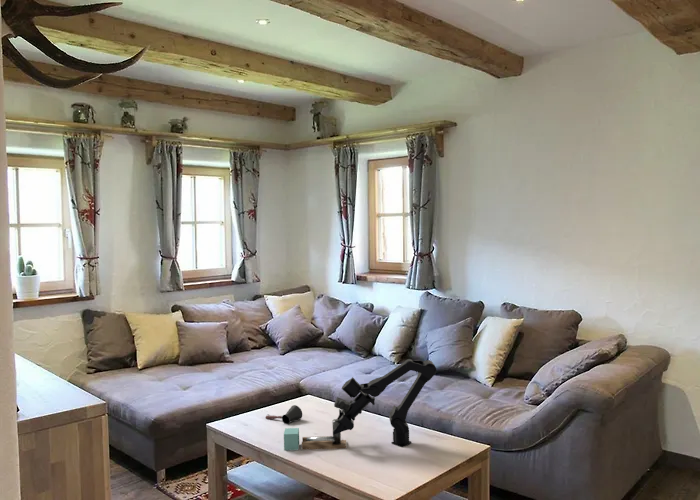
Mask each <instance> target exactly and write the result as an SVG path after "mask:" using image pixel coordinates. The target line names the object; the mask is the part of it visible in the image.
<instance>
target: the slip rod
mask: <svg viewBox="0 0 700 500" xmlns="http://www.w3.org/2000/svg"><path fill="white" fill-rule="evenodd" d="M331 423H332V432H333V431H334V430H335V428H336V427H337V425H338V424H339V419H337V418H335V419H333V420H332V421H331ZM341 433H342V432H340V433H337V434H333V433H332V435H330V436H329V437H322V436H306V437H307V441H332V443H333V444H340V443H341V440H342V437H341V436H342V434H341Z"/></svg>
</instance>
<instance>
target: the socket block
mask: <svg viewBox="0 0 700 500" xmlns="http://www.w3.org/2000/svg"><path fill="white" fill-rule="evenodd" d="M299 445H300V427H288V428H284V431H283V451H299Z"/></svg>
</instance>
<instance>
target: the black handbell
mask: <svg viewBox="0 0 700 500" xmlns="http://www.w3.org/2000/svg"><path fill="white" fill-rule="evenodd" d="M302 418H303V411H302V409H301V408H300V407H299V406H298V405H291V406H290V408H289V409H288V410H287V411H286V413H285V414H283V415H270V414H267V415H266V416H265V419H266V420H273V419H274V420H275V419H281V420H282V421H281V422H282V423H284V424H285V425H289V424H290V423H292V422H293V423H294V422H296V421H299V420H301V419H302Z"/></svg>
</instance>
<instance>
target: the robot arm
mask: <svg viewBox="0 0 700 500" xmlns="http://www.w3.org/2000/svg"><path fill="white" fill-rule="evenodd" d="M410 371H413V372H416V373H417V377H416V378H415V380H414V382H413V383H412V384H411V387H410V388H409V389H408V391H407V393H406V394H405V396H404V398H403V399H402V401H401V402H400V404H398V405H397V406H396V405H393V406H392V409H391V410H390V411H389V416H388V417H389V422H390V425H391V427H393V429H392V430H393V431H392V441H391V444H392V445H395V446H398V447H401V448H404V447H406V446H408V445H410V444H412V441H410V430H409V429H410V428H409V424H408V422H407V415H408V412H409V410H410V409H411V407H412V405H413V404H414V402H415V400H416V399H417V397H418V396H419V394H420V392H421V391H422V390H423V388H424V386H425V384H426V383H428V382H429V381H430V380H432V379H433V377H434V376H435V375H436V373H437V366H436V365H435V364H434V363H433V361H432V360H431V359H430V360H419V359H418V360H416V359H411V358H408V359H406V360H405V361H404V362H402V363H401V364H399V365H398V366H396V367H395V368H393V369H392V370H390V371H389V372H387V373H386V374H384V375H383V376H379V377H376V378H374V379H372V380H370V381H368V382H367V383H366V382H365V383H360V382H358V381H357V380H356V379H355V378H354V376H353V377H351V378H350V379H348V380H347V381H346V382H344V383H343V385H342V387H341V390H342V391H344V392H345V394H346V395H348V397H350V398H353V400H349V401H347V400H345V399H343V398H341V397H339V396H337V397H336V399H335V402H334V403H333V405H334V407H335V408H336V409H338V412H339V414H338V417H337V418H336V419H339V424H338V425H337V427H336V428H335V430H334V431H333V430H332V435H333V434H337V433H340V432H341V433H342V432H345V431H348V430H349V431H352V430H353V428H354V427H355V423H354V421H355V420H356V418H357V416H358V415H361V414H362V412H363V410H364V409H365V408H366V407H367V406H369V404H370V403H371V405H373V406H375V400H376V398H377V397H379V396H380V395H381V394H382V393H383V392H384V391H385V390H386V388H388V386H390V384H392V383H394V382H395V381H396V380H398V379H400V378H401V377H402V376H404V375H406V374H407V373H409V372H410Z"/></svg>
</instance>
